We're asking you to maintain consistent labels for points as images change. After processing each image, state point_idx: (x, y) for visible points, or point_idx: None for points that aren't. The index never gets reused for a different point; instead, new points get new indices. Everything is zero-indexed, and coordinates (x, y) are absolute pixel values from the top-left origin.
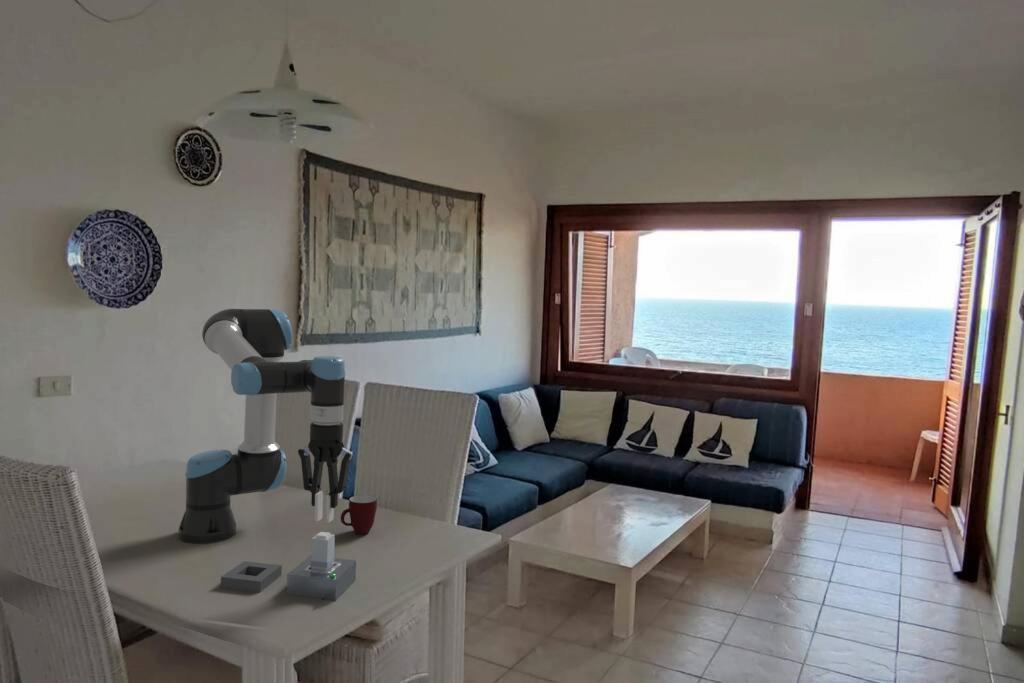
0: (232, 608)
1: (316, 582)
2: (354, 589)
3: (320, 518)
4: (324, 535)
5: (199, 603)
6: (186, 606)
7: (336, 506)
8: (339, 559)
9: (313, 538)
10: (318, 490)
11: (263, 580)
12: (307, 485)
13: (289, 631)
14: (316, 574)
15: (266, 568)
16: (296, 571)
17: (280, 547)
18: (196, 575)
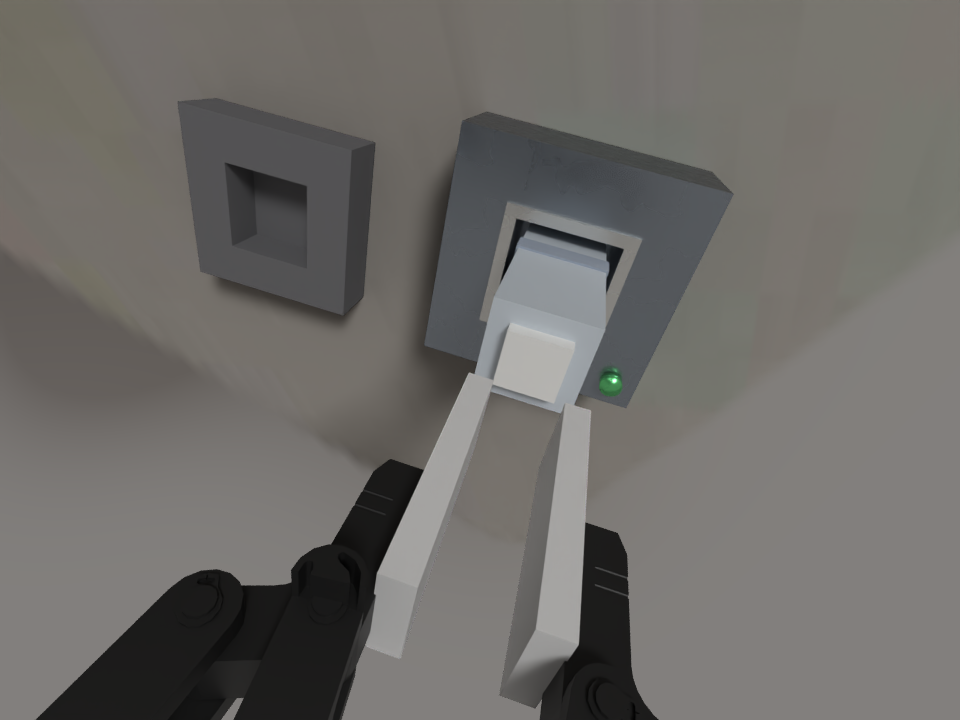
0: (331, 378)
1: None
2: (700, 270)
3: (484, 411)
4: (542, 393)
5: (235, 343)
6: (217, 357)
7: (616, 536)
8: (633, 179)
9: None
10: (364, 627)
11: (346, 296)
12: (211, 712)
13: (515, 499)
14: None
15: (305, 185)
16: (451, 323)
17: None
18: (84, 132)
